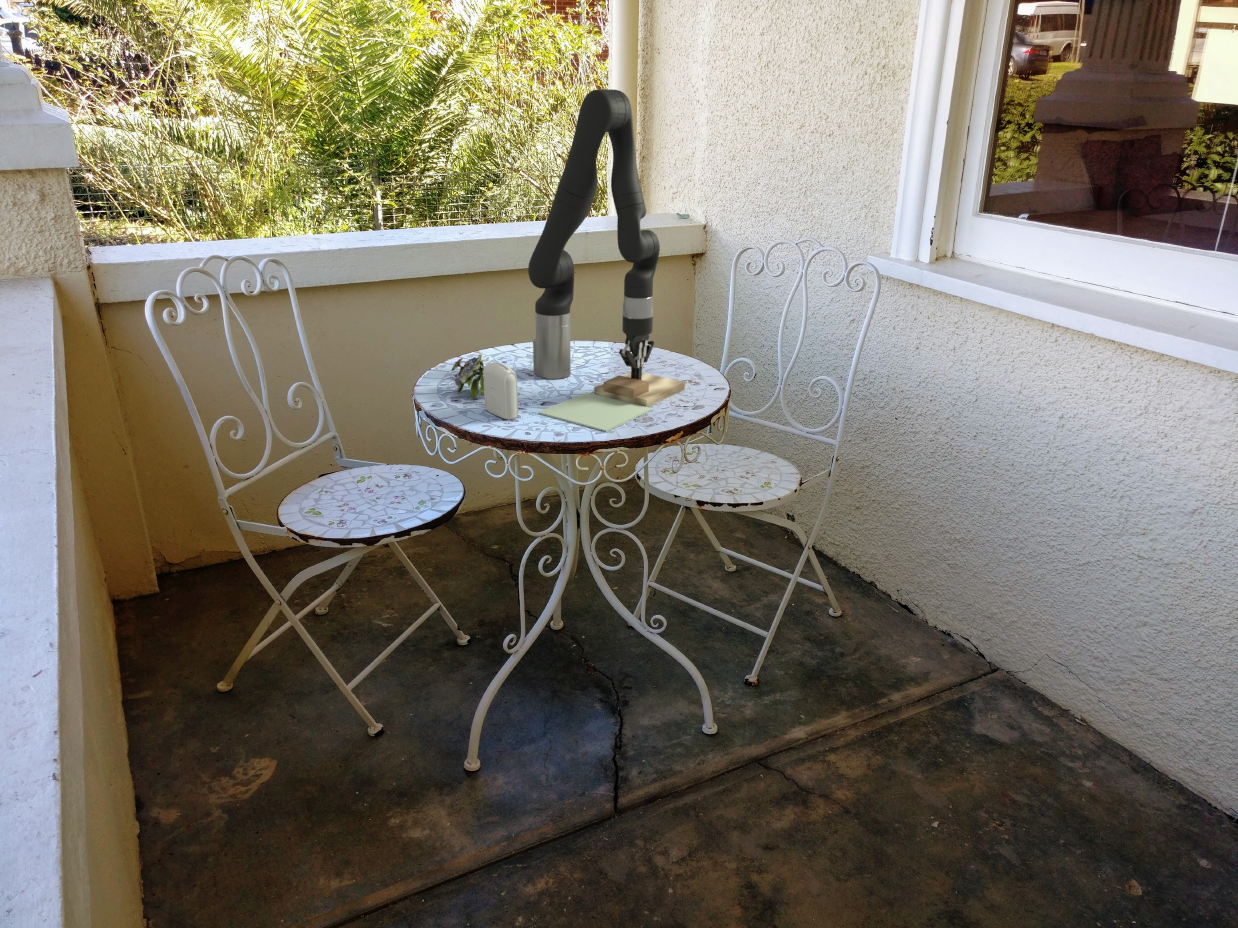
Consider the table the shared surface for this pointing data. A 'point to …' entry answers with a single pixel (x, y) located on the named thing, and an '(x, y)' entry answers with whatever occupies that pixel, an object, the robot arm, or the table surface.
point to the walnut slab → (626, 386)
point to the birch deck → (657, 391)
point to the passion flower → (470, 375)
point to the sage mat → (596, 411)
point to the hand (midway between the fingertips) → (636, 380)
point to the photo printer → (500, 390)
